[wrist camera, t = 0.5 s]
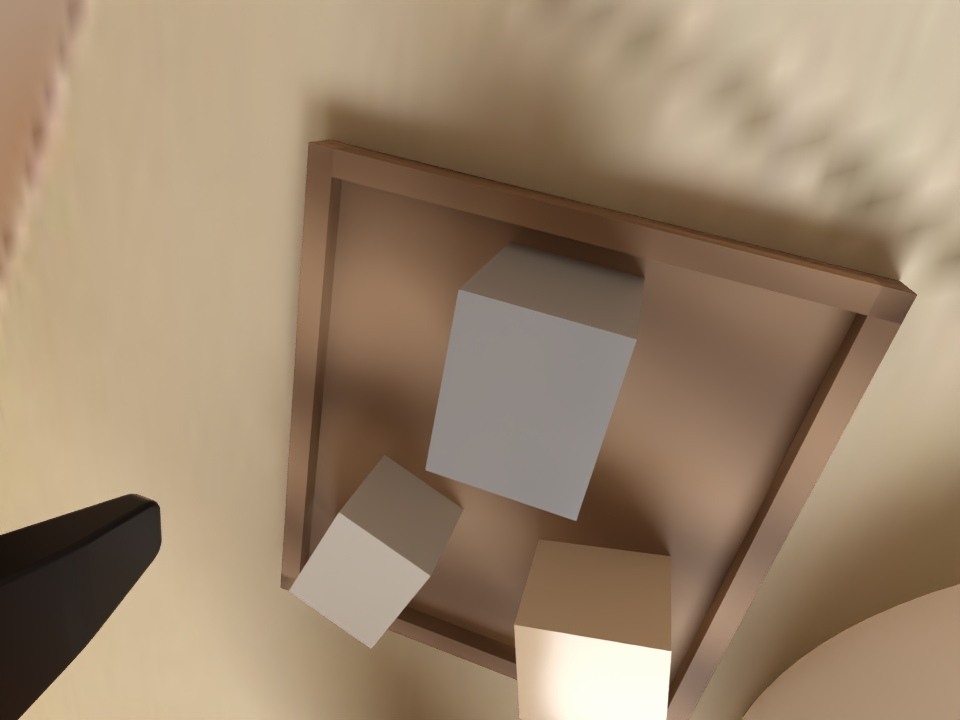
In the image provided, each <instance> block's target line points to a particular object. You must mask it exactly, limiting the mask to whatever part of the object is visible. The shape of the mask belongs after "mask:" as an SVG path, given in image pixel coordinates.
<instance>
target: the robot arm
mask: <svg viewBox="0 0 960 720" xmlns="http://www.w3.org/2000/svg"><path fill="white" fill-rule="evenodd" d="M161 540H162V539H161V519H160V507H159V505H158V503H157V502H155V501H154V500H151V499H149V498H146V497H143V496H141V495H138V494H128V495H124V496H121V497H118V498H115V499H112V500H109V501H106V502H102V503H99V504H96V505H93V506H90V507H87V508H84V509H81V510H77V511H74V512H71V513H68V514H65V515H62V516H59V517H56V518H52V519H49V520H46V521H43V522H40V523H37V524H34V525H31V526H27V527H24V528H21V529H18V530H15V531H12V532H9V533H6V534H2V535H0V720H18V719H19V718H20V717H21V716H22V715H23V714H24V713H25V712H26V711H27V709H28V708H29V707H30V706H31V705H32V704H33V703H34V702H35V701H36V700H37V699H38V698H39V697H40V695H41V694H42V693H43V692H44V691H45V690H46V689H47V688H48V687H49V686H50V685H51V684H52V683H53V682H54V680H55V679H56V678H57V677H58V676H59V675H60V674H61V673H62V672H63V671H64V670H65V669H66V668H67V666H68V665H69V664H70V663H71V662H72V661H73V660H74V659H75V658H76V657H77V656H78V654H79V653H80V652H81V651H82V650H83V649H84V648H85V647H86V645H87V644H88V643H89V642H90V641H91V639H92V638H93V637H94V636H95V635H96V633H97V632H98V631H99V630H100V628H101V627H102V626H103V624H104V623H105V622H106V621H107V619H108V618H109V617H110V615H111V614H112V613H113V612H114V610H115V609H116V608H117V606H118V605H119V604H120V603H121V601H122V600H123V599H124V597H125V596H126V595H127V594H128V592H129V591H130V590H131V588H132V587H133V586H134V585H135V583H136V582H137V581H138V579H139V578H140V577H141V576H142V574H143V573H144V572H145V570H146V569H147V568H148V567H149V565H150V564H151V563H152V561H153V560H154V559H155V557H156V556H157V554H158V552H159V549H160V546H161Z"/></svg>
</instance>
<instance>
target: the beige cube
mask: <svg viewBox="0 0 960 720" xmlns="http://www.w3.org/2000/svg"><path fill="white" fill-rule="evenodd" d="M463 510H464V509H462V508H461V507H459V506H458V505H457V504H455V503H454V502H452V501H451V500H449V499H448V498H446V497H445V496H444V495H442V494H441V493H439V492H438V491H436V490H435V489H434V488H432V487H431V486H429V485H428V484H426V483H425V482H423V481H422V480H421V479H419V478H418V477H416V476H415V475H413V474H412V473H410V472H409V471H408V470H406V469H405V468H403V467H402V466H400V465H399V464H397V463H396V462H395V461H393V460H392V459H390V458H389V457H387V456H386V455H384V456H383V457H382V459H381V460H380V461H379V462H378V464H377V465H376V466H375V467H374V469H373V470H372V471H371V472H370V474H369V475H368V476H367V478H366V479H365V480H364V481H363V483H362V484H361V485H360V486H359V488H358V489H357V490H356V491H355V493H354V494H353V495H352V496H351V498H350V499H349V500H348V502H347V503H346V504H345V505H344V507H343V508H342V509H341V510H340V512H339V513H338V515H337V516H336V518H335V519H334V521H333V522H332V524H331V526H330V527H329V529H328V530H327V532H326V533H325V535H324V537H323V538H322V540H321V541H320V543H319V544H318V546H317V548H316V549H315V551H314V552H313V554H312V555H311V557H310V559H309V560H308V562H307V563H306V565H305V566H304V568H303V570H302V571H301V573H300V574H299V576H298V577H297V579H296V580H295V582H294V584H293V585H292V587H291V588H290V590H289V591H288V592H290V593H291V594H293V595H294V596H295V597H297V598H298V599H300V600H301V601H303V602H304V603H305V604H307V605H308V606H310V607H311V608H313V609H314V610H315V611H317V612H318V613H320V614H321V615H323V616H324V617H326V618H327V619H328V620H330V621H331V622H333V623H334V624H336V625H337V626H338V627H340V628H341V629H343V630H344V631H346V632H347V633H349V634H350V635H351V636H353V637H354V638H356V639H357V640H359V641H360V642H361V643H363V644H364V645H366V646H367V647H369V648H370V649H372V647H373V646H374V645H375V644H376V642H377V641H378V640H379V639H380V637H381V636H382V635H383V634H384V633H385V631H386V630H387V629H388V628H389V626H390V625H391V624H392V623H393V622H394V620H395V619H396V618H397V617H398V615H399V614H400V613H401V612H402V611H403V609H404V608H405V607H406V606H407V604H408V603H409V602H410V601H411V600H412V598H413V597H414V596H415V595H416V593H417V592H418V591H419V590H420V588H421V587H422V586H423V585H424V584H425V582H426V581H427V580H428V579H429V577H430V576H431V574H432V572H433V570H434V568H435V566H436V564H437V562H438V560H439V558H440V556H441V554H442V552H443V550H444V548H445V546H446V544H447V542H448V540H449V538H450V536H451V534H452V532H453V530H454V528H455V526H456V524H457V522H458V520H459V518H460V516H461V514H462V512H463Z"/></svg>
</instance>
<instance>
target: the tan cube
mask: <svg viewBox="0 0 960 720" xmlns="http://www.w3.org/2000/svg"><path fill="white" fill-rule="evenodd" d="M514 631H515V649H516V667H517V685H518V703H519V719H523V720H666V718H667V705H668V691H669V678H670V664H671V556H664V555H657V554H649V553H641V552H633V551H626V550H618V549H610V548H602V547H595V546H587V545H579V544H571V543H563V542H556V541H548V540H540V539H539V541H538V545H537V548H536V551H535V555H534V558H533V562H532V565H531V569H530V572H529V575H528V579H527V582H526V586H525V589H524V593H523V596H522V600H521V603H520V606H519V610H518V613H517V617H516V620H515V624H514Z"/></svg>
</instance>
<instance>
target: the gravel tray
mask: <svg viewBox="0 0 960 720" xmlns="http://www.w3.org/2000/svg"><path fill="white" fill-rule="evenodd" d="M510 242H512V243H516V244H520V245H524V246H527V247H531V248H535V249H539V250H543V251H546V252H550V253H554V254H558V255H562V256H565V257H569V258H573V259H577V260H580V261H584V262H588V263H592V264H596V265H599V266H603V267H607V268H611V269H614V270H618V271H622V272H626V273H630V274H633V275H637V276H641V277H645V280H644V288H643V296H642V303H641V311H640V319H639V327H638V335H637V341H636V344H635V347H634V350H633V353H632V356H631V359H630V362H629V365H628V368H627V371H626V374H625V377H624V380H623V382H622V385H621V388H620V391H619V394H618V397H617V400H616V403H615V406H614V409H613V412H612V415H611V418H610V421H609V424H608V427H607V430H606V433H605V436H604V439H603V442H602V445H601V448H600V451H599V454H598V457H597V460H596V463H595V466H594V469H593V472H592V475H591V478H590V481H589V484H588V487H587V490H586V493H585V496H584V499H583V502H582V505H581V508H580V511H579V514H578V517H577V520H576V521H574V520H571V519H568V518H565V517H562V516H559V515H556V514H553V513H551V512H548V511H545V510H542V509H539V508H536V507H533V506H530V505H527V504H524V503H521V502H518V501H515V500H512V499H509V498H506V497H503V496H500V495H497V494H494V493H491V492H488V491H486V490H483V489H480V488H477V487H474V486H471V485H468V484H465V483H462V482H459V481H456V480H453V479H450V478H447V477H444V476H441V475H438V474H435V473H432V472H429V471H426V470H425V469H426V463H427V458H428V453H429V447H430V442H431V436H432V431H433V426H434V420H435V415H436V409H437V404H438V399H439V393H440V388H441V382H442V377H443V372H444V366H445V361H446V355H447V350H448V344H449V339H450V334H451V328H452V323H453V317H454V312H455V307H456V301H457V296H458V290H459V289H460V288H461V287H462V286H463V285H464V284H465V283H466V282H467V281H468V280H469V279H470V278H471V277H473V276H474V275H475V274H476V273H477V272H478V271H479V270H480V269H481V268H482V267H483V266H485V265H486V264H487V263H488V262H489V261H490V260H491V259H492V258H493V257H494V256H495V255H496V254H498V253H499V252H500V251H501V250H502V249H503V248H504V247H505V246H506V245H507V244H508V243H510ZM916 296H917V294H916V293H914V292H913V291H912V290H910V289H909V288H908V287H907V286H905V285H904V284H903V283H902V282H900V281H896V280H892V279H888V278H884V277H880V276H876V275H872V274H868V273H864V272H860V271H856V270H852V269H848V268H844V267H840V266H835V265H831V264H827V263H823V262H819V261H815V260H811V259H807V258H803V257H799V256H795V255H791V254H787V253H783V252H779V251H775V250H771V249H767V248H763V247H759V246H755V245H751V244H747V243H743V242H739V241H735V240H731V239H727V238H723V237H719V236H714V235H710V234H706V233H702V232H698V231H694V230H690V229H686V228H682V227H678V226H674V225H670V224H666V223H662V222H658V221H654V220H650V219H646V218H642V217H638V216H634V215H630V214H626V213H622V212H618V211H614V210H610V209H606V208H602V207H598V206H593V205H589V204H585V203H581V202H577V201H573V200H569V199H565V198H561V197H557V196H553V195H549V194H545V193H541V192H537V191H533V190H529V189H525V188H521V187H517V186H513V185H509V184H505V183H501V182H497V181H493V180H489V179H485V178H481V177H477V176H472V175H468V174H464V173H460V172H456V171H452V170H448V169H444V168H440V167H436V166H432V165H428V164H424V163H420V162H416V161H412V160H408V159H404V158H400V157H396V156H392V155H388V154H384V153H380V152H376V151H372V150H368V149H364V148H360V147H356V146H351V145H347V144H343V143H339V142H335V141H331V140H325V141H317V142H309V147H308V163H307V179H306V194H305V210H304V226H303V242H302V258H301V274H300V289H299V305H298V321H297V337H296V353H295V368H294V384H293V400H292V416H291V432H290V448H289V463H288V479H287V495H286V511H285V527H284V543H283V558H282V574H281V588H283V589H285V590H288V591H289V590H290V588H291V587H292V585H293V584H294V582H295V580H296V579H297V577H298V576H299V574H300V573H301V571H302V570H303V568H304V566H305V565H306V563H307V562H308V560H309V559H310V557H311V555H312V554H313V552H314V551H315V549H316V548H317V546H318V544H319V543H320V541H321V540H322V538H323V537H324V535H325V533H326V532H327V530H328V529H329V527H330V526H331V524H332V522H333V521H334V519H335V518H336V516H337V515H338V513H339V512H340V510H341V509H342V508H343V507H344V505H345V504H346V503H347V502H348V500H349V499H350V498H351V496H352V495H353V494H354V493H355V491H356V490H357V489H358V488H359V486H360V485H361V484H362V483H363V481H364V480H365V479H366V478H367V476H368V475H369V474H370V472H371V471H372V470H373V469H374V467H375V466H376V465H377V464H378V462H379V461H380V460H381V459H382V457H383V456H384V455H386V456H387V457H389V458H390V459H392V460H393V461H395V462H396V463H397V464H399V465H400V466H402V467H403V468H405V469H406V470H408V471H409V472H410V473H412V474H413V475H415V476H416V477H418V478H419V479H421V480H422V481H423V482H425V483H426V484H428V485H429V486H431V487H432V488H434V489H435V490H436V491H438V492H439V493H441V494H442V495H444V496H445V497H446V498H448V499H449V500H451V501H452V502H454V503H455V504H457V505H458V506H459V507H461V508H462V509H464V510H463V512H462V514H461V516H460V518H459V520H458V522H457V524H456V526H455V528H454V530H453V532H452V534H451V536H450V538H449V540H448V542H447V544H446V546H445V548H444V550H443V552H442V554H441V556H440V558H439V560H438V562H437V564H436V566H435V568H434V570H433V572H432V574H431V576H430V577H429V579H428V580H427V581H426V582H425V584H424V585H423V586H422V587H421V588H420V590H419V591H418V592H417V593H416V595H415V596H414V597H413V598H412V600H411V601H410V602H409V603H408V604H407V606H406V607H405V608H404V609H403V611H402V612H401V613H400V614H399V615H398V617H397V618H396V619H395V620H394V622H393V623H392V624H391V625H390V626H389V628H388V630H391V631H393V632H396V633H398V634H401V635H403V636H406V637H409V638H411V639H414V640H416V641H419V642H421V643H424V644H427V645H429V646H432V647H434V648H437V649H439V650H442V651H445V652H447V653H450V654H452V655H455V656H457V657H460V658H462V659H465V660H468V661H470V662H473V663H475V664H478V665H480V666H483V667H486V668H488V669H491V670H493V671H496V672H498V673H501V674H504V675H506V676H509V677H511V678H514V679H516V680H517V667H516V649H515V631H514V624H515V620H516V617H517V613H518V610H519V606H520V603H521V600H522V596H523V593H524V589H525V586H526V582H527V579H528V575H529V572H530V569H531V565H532V562H533V558H534V555H535V551H536V548H537V545H538V541H539V539H540V540H548V541H556V542H563V543H571V544H579V545H587V546H595V547H602V548H610V549H618V550H626V551H633V552H641V553H649V554H657V555H664V556H671V664H670V678H669V691H668V705H667V718H666V720H688V719H689V718H690V716H691V714H692V712H693V710H694V708H695V706H696V705H697V703H698V701H699V699H700V697H701V695H702V693H703V692H704V690H705V688H706V686H707V684H708V682H709V680H710V679H711V677H712V675H713V673H714V671H715V669H716V667H717V666H718V664H719V662H720V660H721V658H722V656H723V654H724V653H725V651H726V649H727V647H728V645H729V643H730V641H731V640H732V638H733V636H734V634H735V632H736V630H737V628H738V626H739V625H740V623H741V621H742V619H743V617H744V615H745V613H746V612H747V610H748V608H749V606H750V604H751V602H752V600H753V599H754V597H755V595H756V593H757V591H758V589H759V587H760V586H761V584H762V582H763V580H764V578H765V576H766V574H767V573H768V571H769V569H770V567H771V565H772V563H773V561H774V560H775V558H776V556H777V554H778V552H779V550H780V548H781V547H782V545H783V543H784V541H785V539H786V537H787V535H788V534H789V532H790V530H791V528H792V526H793V524H794V522H795V521H796V519H797V517H798V515H799V513H800V511H801V509H802V508H803V506H804V504H805V502H806V500H807V498H808V496H809V495H810V493H811V491H812V489H813V487H814V485H815V483H816V482H817V480H818V478H819V476H820V474H821V472H822V470H823V469H824V467H825V465H826V463H827V461H828V459H829V457H830V456H831V454H832V452H833V450H834V448H835V446H836V444H837V443H838V441H839V439H840V437H841V435H842V433H843V431H844V430H845V428H846V426H847V424H848V422H849V420H850V418H851V417H852V415H853V413H854V411H855V409H856V407H857V405H858V404H859V402H860V400H861V398H862V396H863V394H864V392H865V391H866V389H867V387H868V385H869V383H870V381H871V379H872V378H873V376H874V374H875V372H876V370H877V368H878V366H879V365H880V363H881V361H882V359H883V357H884V355H885V353H886V352H887V350H888V348H889V346H890V344H891V342H892V340H893V339H894V337H895V335H896V333H897V331H898V329H899V327H900V326H901V324H902V322H903V320H904V318H905V316H906V314H907V313H908V311H909V309H910V307H911V305H912V303H913V301H914V300H915V298H916Z"/></svg>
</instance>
